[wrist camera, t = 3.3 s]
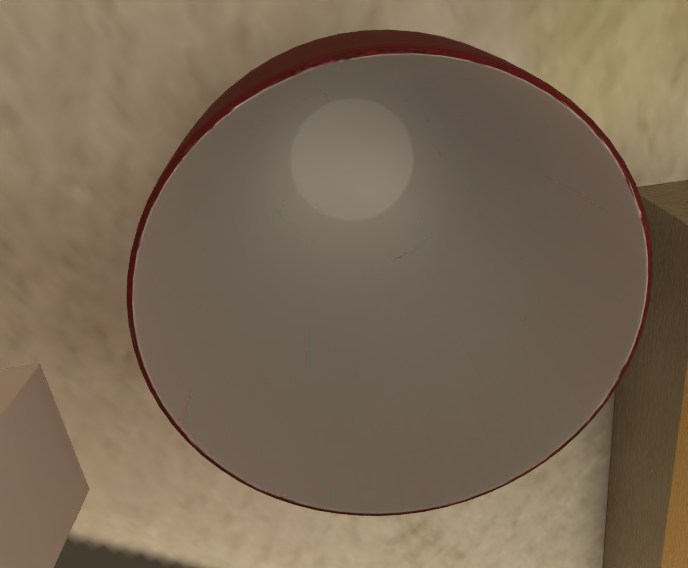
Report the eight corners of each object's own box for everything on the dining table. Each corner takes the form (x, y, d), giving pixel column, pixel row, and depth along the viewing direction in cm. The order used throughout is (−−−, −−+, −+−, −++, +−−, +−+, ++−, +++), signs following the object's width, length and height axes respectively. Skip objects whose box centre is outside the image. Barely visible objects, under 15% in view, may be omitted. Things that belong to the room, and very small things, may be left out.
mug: (553, 271, 21) (745, 496, 12) (337, 375, 22) (358, 650, 13) (415, -50, 16) (549, -91, 7) (157, 103, 18) (1, 229, 9)
